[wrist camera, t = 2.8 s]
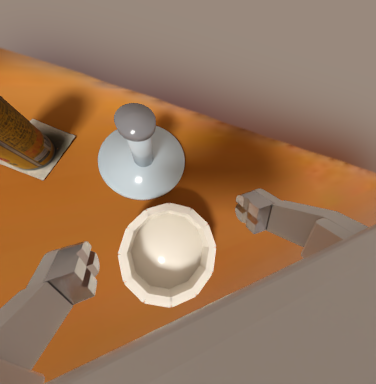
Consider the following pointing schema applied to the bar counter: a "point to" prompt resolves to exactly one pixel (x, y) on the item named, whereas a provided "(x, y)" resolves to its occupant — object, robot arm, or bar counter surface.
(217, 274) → the bar counter surface
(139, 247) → the bowl
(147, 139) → the lid
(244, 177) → the bar counter surface
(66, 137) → the condiment
